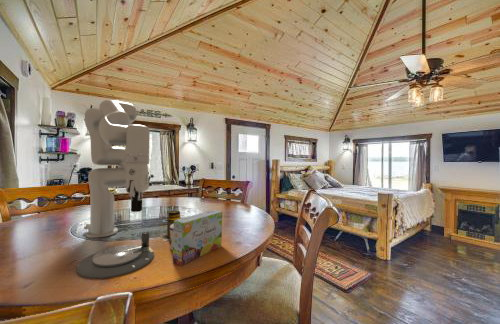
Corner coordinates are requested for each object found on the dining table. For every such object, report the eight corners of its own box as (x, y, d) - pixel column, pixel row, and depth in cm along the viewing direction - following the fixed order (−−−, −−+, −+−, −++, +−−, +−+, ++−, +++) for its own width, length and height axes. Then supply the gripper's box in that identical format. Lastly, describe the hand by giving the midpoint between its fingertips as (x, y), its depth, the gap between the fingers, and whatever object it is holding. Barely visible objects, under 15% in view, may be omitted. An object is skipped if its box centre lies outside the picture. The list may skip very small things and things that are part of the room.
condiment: (183, 238, 101) (183, 212, 101) (164, 241, 96) (164, 214, 96) (178, 233, 107) (179, 209, 107) (160, 236, 102) (160, 211, 102)
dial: (96, 272, 67) (97, 251, 67) (89, 256, 77) (89, 238, 77) (156, 255, 79) (156, 237, 79) (142, 243, 90) (142, 228, 90)
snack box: (182, 266, 74) (183, 222, 74) (171, 262, 77) (172, 220, 77) (222, 246, 92) (222, 210, 92) (212, 243, 95) (212, 209, 95)
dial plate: (57, 275, 67) (57, 271, 67) (112, 246, 90) (112, 243, 90) (127, 280, 65) (127, 276, 65) (165, 249, 88) (165, 246, 88)
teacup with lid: (173, 242, 95) (173, 216, 94) (194, 243, 95) (194, 216, 95) (162, 254, 83) (163, 224, 82) (186, 255, 83) (187, 224, 83)
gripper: (141, 160, 71) (140, 216, 71) (154, 159, 85) (153, 206, 86) (116, 160, 69) (115, 217, 70) (133, 159, 84) (133, 206, 85)
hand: (136, 211), depth 78 cm, fingers closed
